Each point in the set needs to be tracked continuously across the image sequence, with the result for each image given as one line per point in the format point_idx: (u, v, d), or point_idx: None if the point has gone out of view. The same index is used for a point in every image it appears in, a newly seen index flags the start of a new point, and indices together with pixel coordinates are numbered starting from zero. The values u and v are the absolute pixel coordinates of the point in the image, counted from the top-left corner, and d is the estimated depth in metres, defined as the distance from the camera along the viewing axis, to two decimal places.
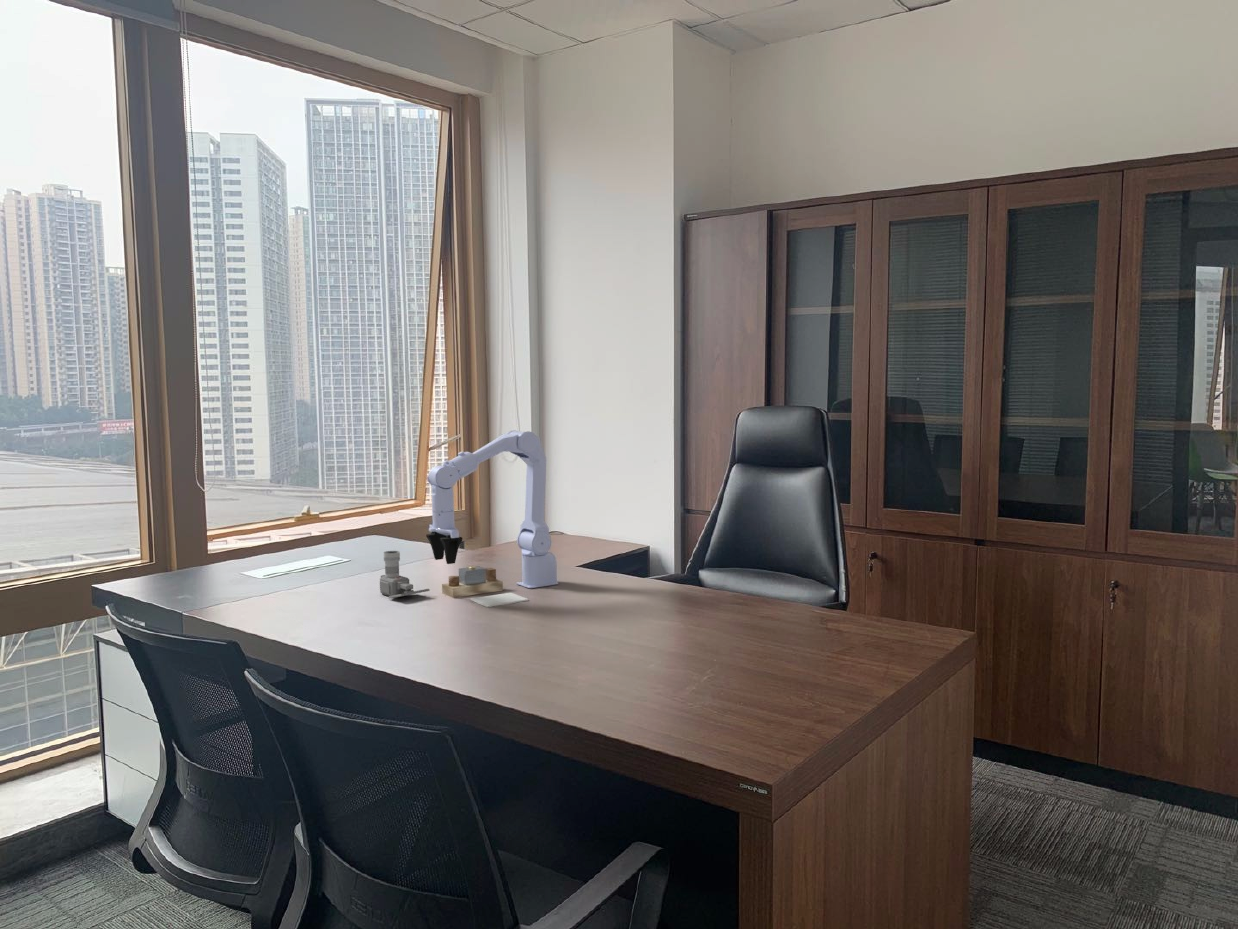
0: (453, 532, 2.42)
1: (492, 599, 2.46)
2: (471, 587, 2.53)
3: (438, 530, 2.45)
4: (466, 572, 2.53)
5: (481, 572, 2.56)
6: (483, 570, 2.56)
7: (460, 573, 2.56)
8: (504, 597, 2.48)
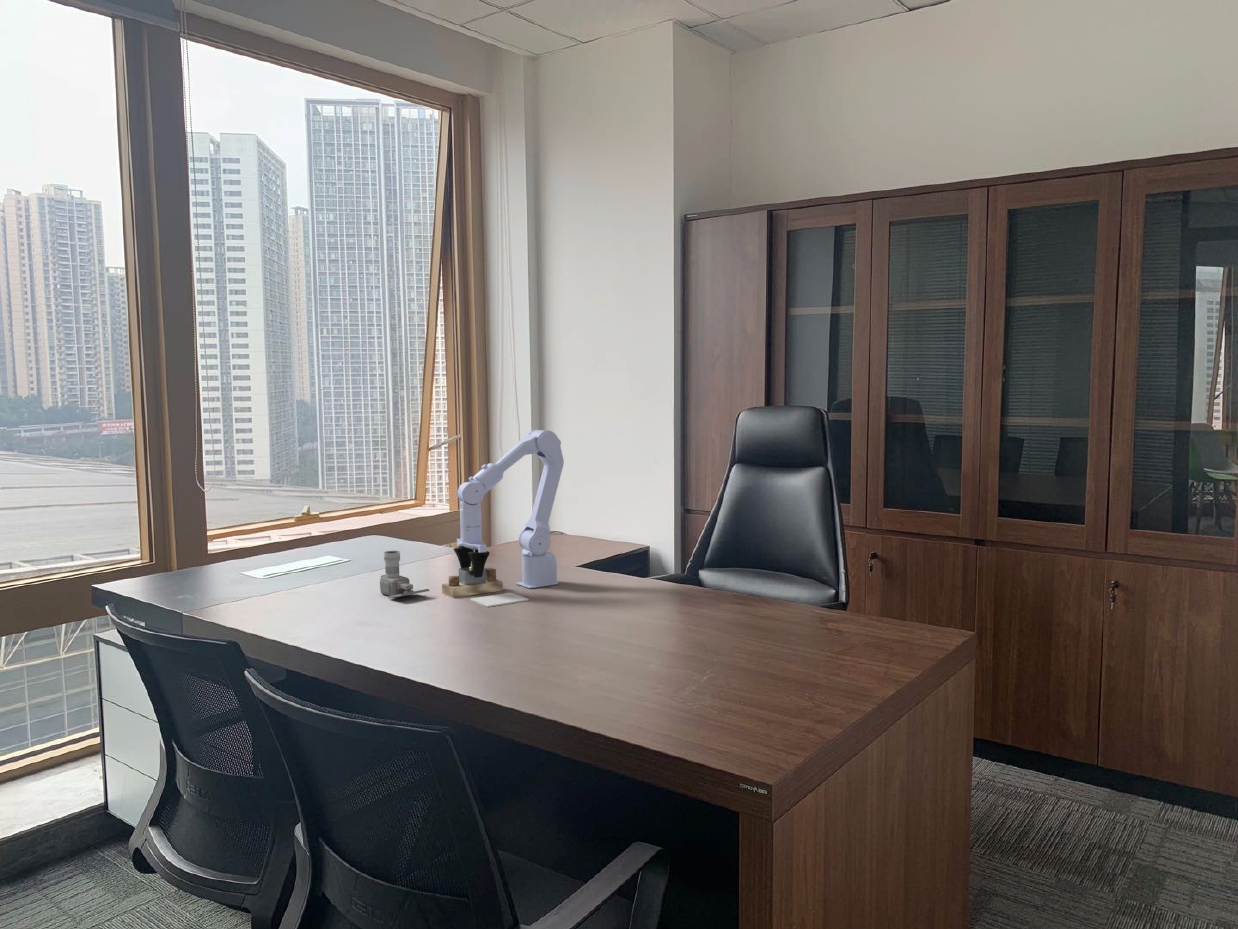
0: (481, 547, 2.50)
1: (492, 599, 2.46)
2: (471, 587, 2.53)
3: (466, 545, 2.53)
4: (466, 572, 2.53)
5: None
6: (483, 570, 2.56)
7: (460, 573, 2.56)
8: (504, 597, 2.48)
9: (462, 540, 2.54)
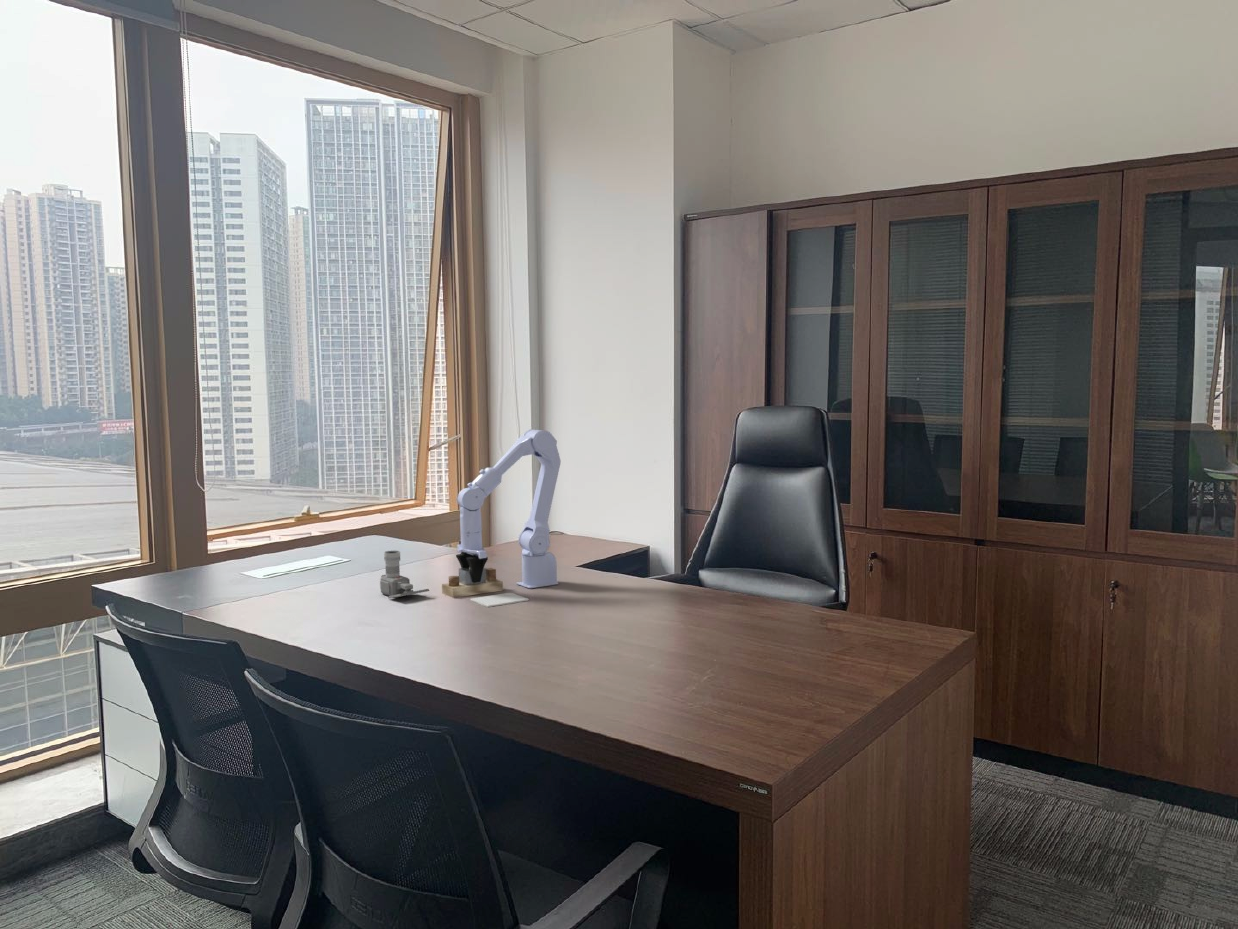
0: (481, 553, 2.50)
1: (492, 599, 2.46)
2: (471, 587, 2.53)
3: (466, 550, 2.53)
4: (466, 572, 2.53)
5: None
6: (483, 570, 2.56)
7: (460, 573, 2.56)
8: (504, 597, 2.48)
9: (462, 546, 2.54)
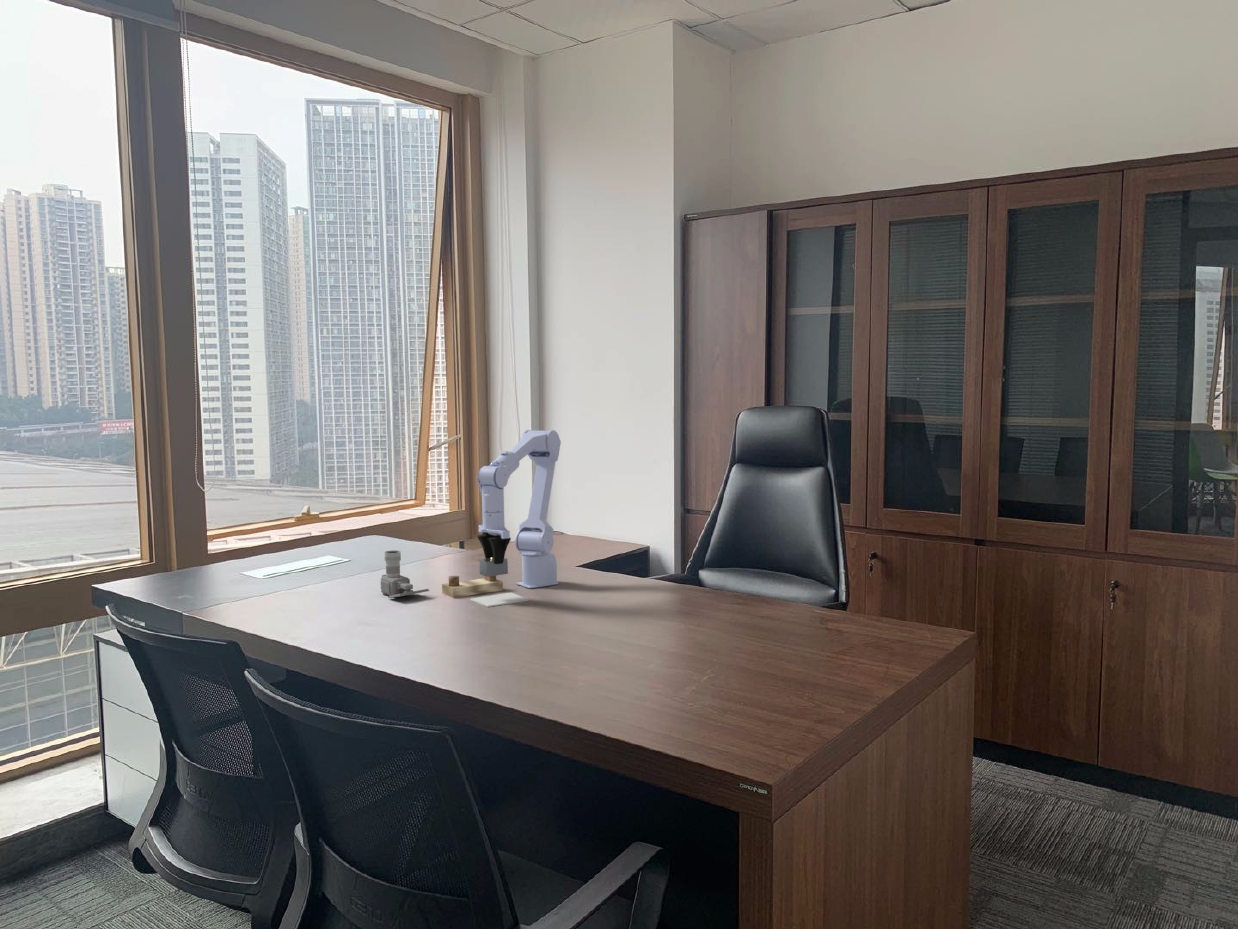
0: (504, 533, 2.40)
1: (492, 599, 2.46)
2: (471, 587, 2.53)
3: (488, 531, 2.43)
4: (487, 563, 2.43)
5: (503, 563, 2.46)
6: (505, 561, 2.46)
7: (481, 564, 2.46)
8: (504, 597, 2.48)
9: (484, 526, 2.44)
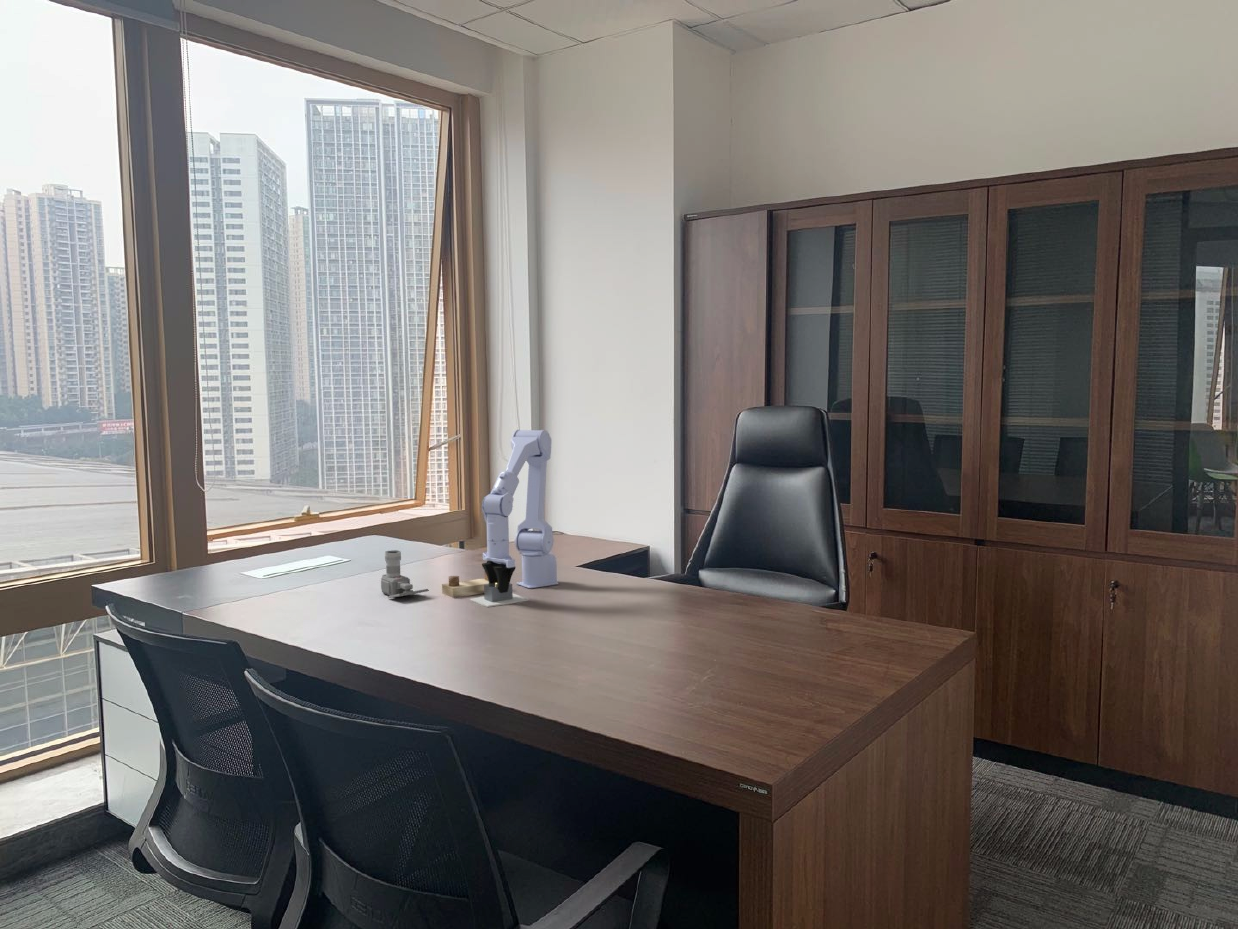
0: (509, 562, 2.39)
1: None
2: (471, 587, 2.53)
3: (493, 559, 2.42)
4: (492, 588, 2.42)
5: (508, 588, 2.45)
6: (510, 586, 2.45)
7: (486, 589, 2.45)
8: None
9: (489, 554, 2.43)
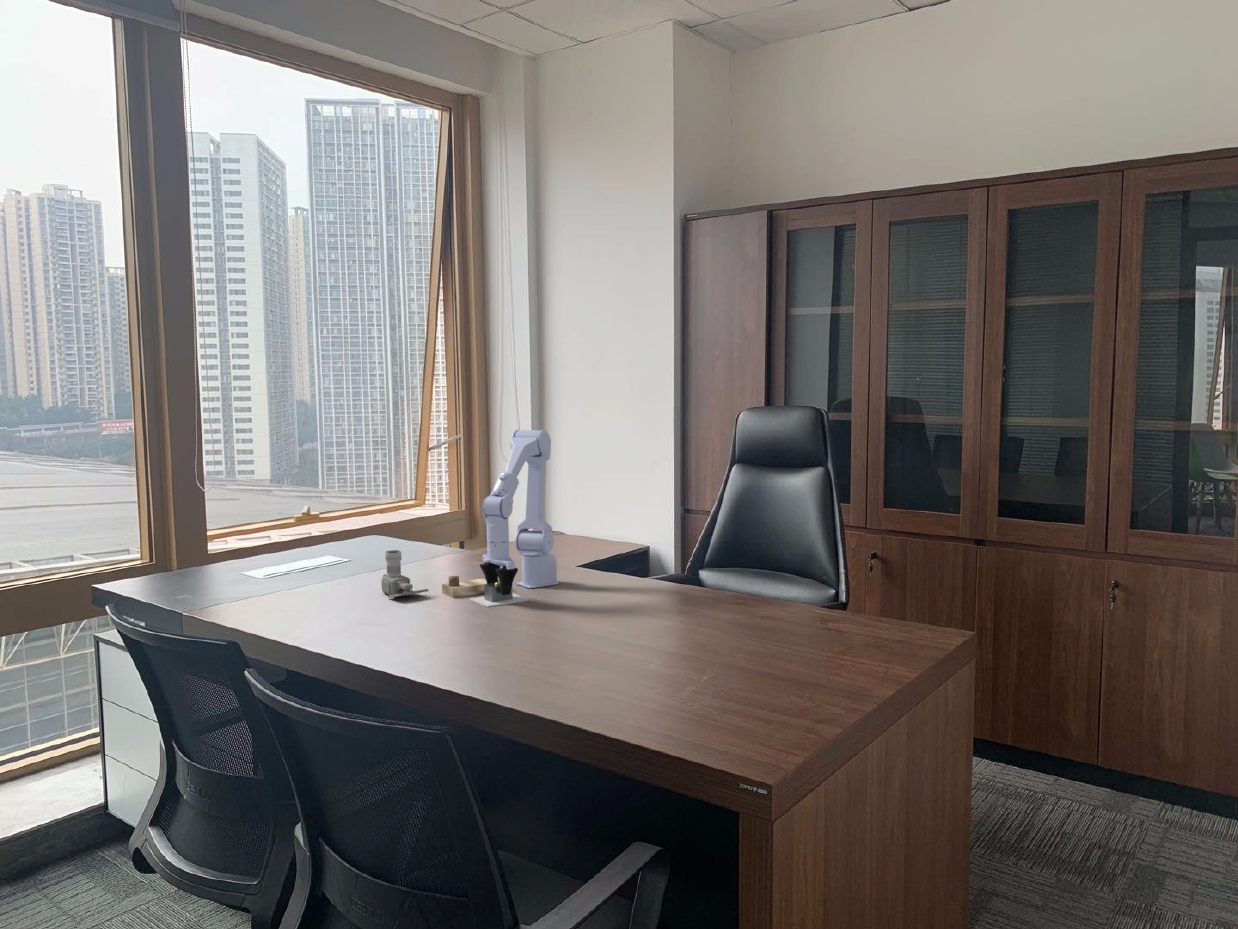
0: (509, 563, 2.39)
1: None
2: (471, 587, 2.53)
3: (493, 561, 2.42)
4: (492, 588, 2.42)
5: None
6: None
7: (486, 589, 2.45)
8: None
9: (489, 556, 2.43)
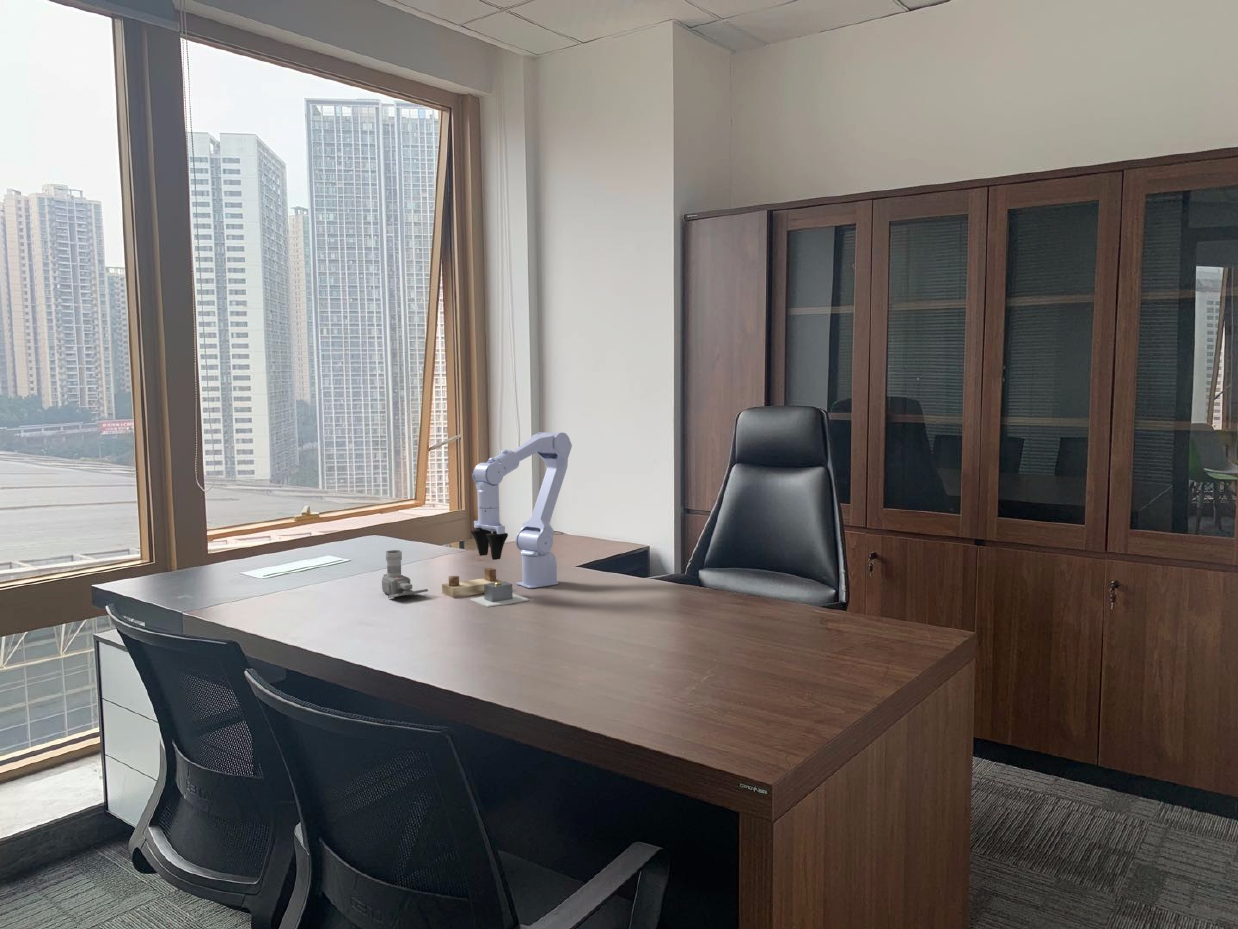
0: (499, 528, 2.45)
1: None
2: (471, 587, 2.53)
3: (484, 526, 2.48)
4: (492, 588, 2.42)
5: (508, 588, 2.45)
6: (510, 586, 2.45)
7: (486, 589, 2.45)
8: None
9: (480, 522, 2.49)
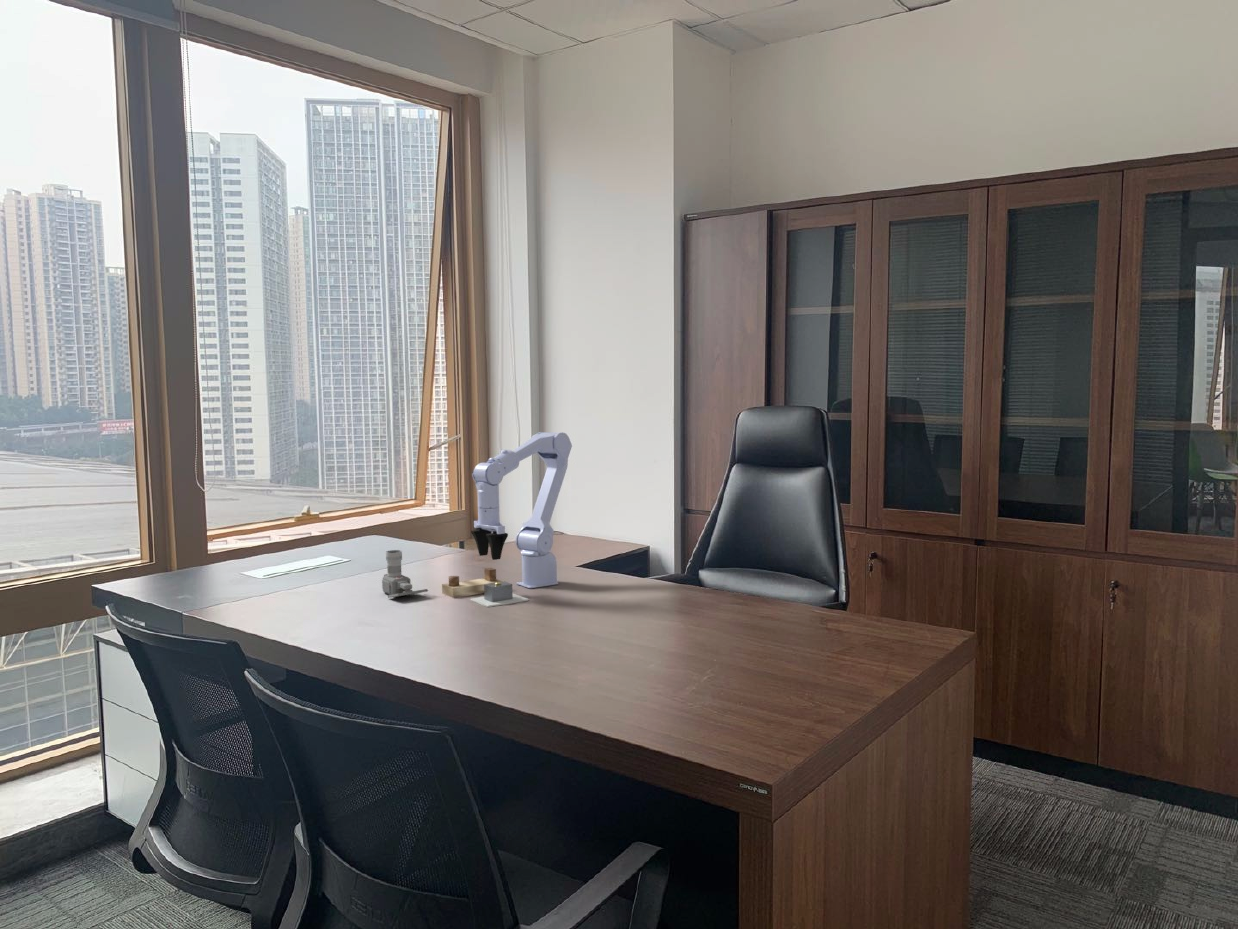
0: (499, 528, 2.45)
1: None
2: (471, 587, 2.53)
3: (484, 526, 2.48)
4: (492, 588, 2.42)
5: (508, 588, 2.45)
6: (510, 586, 2.45)
7: (486, 589, 2.45)
8: None
9: (480, 522, 2.49)
